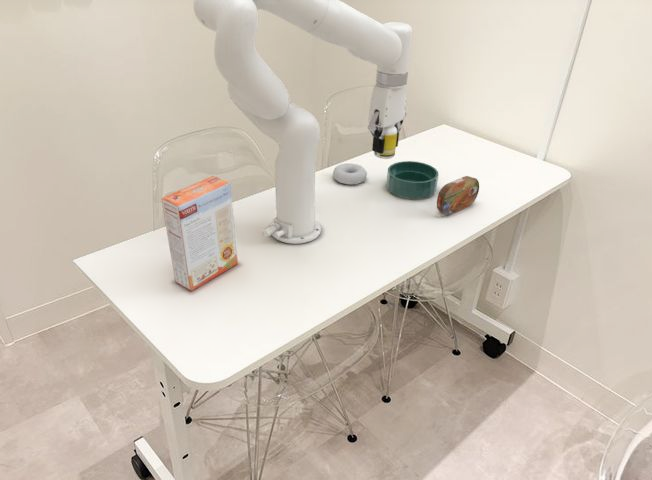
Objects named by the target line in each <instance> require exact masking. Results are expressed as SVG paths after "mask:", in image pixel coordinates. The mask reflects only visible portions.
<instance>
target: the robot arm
mask: <svg viewBox="0 0 652 480" xmlns="http://www.w3.org/2000/svg"><path fill="white" fill-rule="evenodd" d="M258 10H262V11H264V12H265V11H266V12H268V13H270V14H272V15H275V16H276V17H278V18H281V19H282V20H284V21H286V22H288V23H289V24H292V25H294V26H295V27H297V28H299V29H301V30H303V31H305V32H306V33H308V34H310V35H312V36H313V37H315V38H318V39H320V40H323V41H325V42H327V43H329V44H332V45H335V46H339V47H342V48H344V49H346V50H347V52H349V54H351V55H352V56H354V57H355V58H357V59H360V60H363V61H366V62H369V63H371V64H373V65H376V73H375V75H376V76H375V84H374V85H373V88H372V93H371V97H370V103H369V109H368V126H367V130H368V131H369V132H370V133H371V137H372V147H371V148H372V149H371V150H372V152H373V153H374V152H377V153H380V154H382V153H383V152H384V142H385V139H384V138H383V137H384V133H385V130H386V127H388V126H390V125H392V124H395V127H396V128H397V139H396V148H397V147H398V146H399V137H400V132H401V130H402V127H401V126H402V125H403V123H404V120H405V118H406V117H407V112H406V110H407V98H408V94H407V93H408V90H407V89H408V85H407V84H408V76H409V67H410V58H411V48H412V39H413V28H412V26H411V25H410V24H408V23H406V22H401V21H390V22H385V23H381V22H379V21H378V20H375V19H374V18H373V17H370V16H368V15H366V14H365V13H363V12H361V11H359V10H357V9H356V8H355V7H352V6H350V5H348V4H347V3H345V2H344V1H341V0H193V11H194V15H195V17H196V19H197V20H198V21H199V23H201V25H202V26H204V27H205V28H207V29H208V30H211V31H213V32H215V33H216V34H215V39H214V51H213V52H214V53H213V54H214V55H213V56H214V62H215V65H216V66H215V67H216V68H217V70H218V72H219V73H220V75H221V76H222V78H223V79H224V80H225V81H226V82H227V92H228V95H229V97H230V99H231V101H232V103H233V104H234V105H235V106H236V107H237V108H238V109H239V111H240V112H241V113H242V114H243V115H244V116H245V117H246V118H247V119H248V120H249V121H250V122H251V123H252V124H253V125H254V126H255V128H257V129H258V130H259V132H261V133H262V134H263V135H265V136H266V137H268V138H269V139H271V140H272V141H274V142H275V143H276V144H278V151H277V155H276V157H275V161H274V182H275V183H274V184H275V186H274V187H275V216H276V217H274V218H273V219H272V223H271V224H270V226H269V227H266V228H265V229H263V230H262V236H264V237H265V238H269V237H271V236H272V237H273V238H274V239H275V240H276V241H279V242H282V243H284V244H285V243H286V244H292V245H294V244H295V245H300V244H305V243H309V242H312V241H313V240H316V239H317V238H318V237H319V236H320V234H321V231H322V230H321V229H322V228H321V225H320V222H318V221H317V220H316V219H315V218H316V216H315V215H316V211H315V210H316V160H317V151H318V147H319V142H320V137H321V128H320V124H319V122H318V120H317V118H316V117H315V116H314V115H313V114H312V113H311V112H310V111H308V110H306V109H305V108H303V107H301V106H299V105H297V104H295V103H293V102H292V101H291V100H290V94H289V91H288V89H287V87H286V85H285V84H284V82H283V81H282V80H281V79H280V78H279V77H278V76H277V74H276V73H275V72H274V71H273V69H272V68H270V66H269V65H268V64H267V63H266V61H265V60H264V59H263V57H262V56H261V54H260V53H259V52H258V50H257V47H256V38H257V34H258V33H257V32H258V28H259V19H260V18H259V11H258ZM379 123H381V125H380V124H379ZM378 127H379V128H381V132H379V130H378Z"/></svg>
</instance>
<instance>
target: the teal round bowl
mask: <svg viewBox="0 0 652 480" xmlns="http://www.w3.org/2000/svg"><path fill="white" fill-rule="evenodd" d="M386 174H387V175H386V189H387V191H388V192H390V193H391V194H392V195H395V196H398V197H401V198H405V199H413V200H416V199H417V200H418V199H425V198H429V197H432V196H433V195H435V193H436V192H437V188H438V180H439V171H438V170H437V168H435V167H434V166H433V165H430V164H427V163H425V162H421V161H414V160H413V161H412V160H404V161H398V162H394V163H392V164H390V165H389V166H388V168H387V173H386Z"/></svg>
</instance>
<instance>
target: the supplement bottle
mask: <svg viewBox="0 0 652 480" xmlns="http://www.w3.org/2000/svg"><path fill="white" fill-rule="evenodd" d="M379 125H381V123H379ZM378 130H379V132H381V128H379V127H378ZM383 138H384V139H385V142H384V152H383V153H382V154H380V153H377V152H374V151H373V153H374V156H375V157H376V158H378V159H382V160H390V159H393V158H394V157H395V156H396V148H397V147H396V139H397V128H396V127H395V124H392V125H390V126H388V127H386V130H385V133H384V137H383Z"/></svg>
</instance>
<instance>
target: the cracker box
mask: <svg viewBox="0 0 652 480" xmlns="http://www.w3.org/2000/svg"><path fill="white" fill-rule="evenodd" d="M161 206H162V212H163V217H164V223H165V229H166V235H167V240H168V247H169V253H170V257H171V259H170V260H171V264H172V265H171V266H172V270H173V276H174V281H175V283H177V284H178V285H181V287H183V288H185V289H187V290H189V291H190V292H193V291H194V290H197V289H198V288H199V287H201V286H203V285H204V284H206V283H208V282H210V281H211V280H213V279H214V278H216V277H218V276H220V275H221V274H223V273H225V272H226V271H228V270H230V269H231V268H233V267H236V266H237V265H238V254H237V253H238V251H237V240H236V231H235V219H234V217H235V216H234V208H233V196H232V185H231V182H230V181H227V180H224V179H222V178H219V177H217V176H215V175H212V176H209V177H207V178H204V179H202V180H200V181H198V182H196V183H193V184H191V185H189V186H186V187H184V188H182V189H179V190H177V191H175V192H172V193H170V194H168V195H166V196H163V197H162V198H161Z"/></svg>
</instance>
